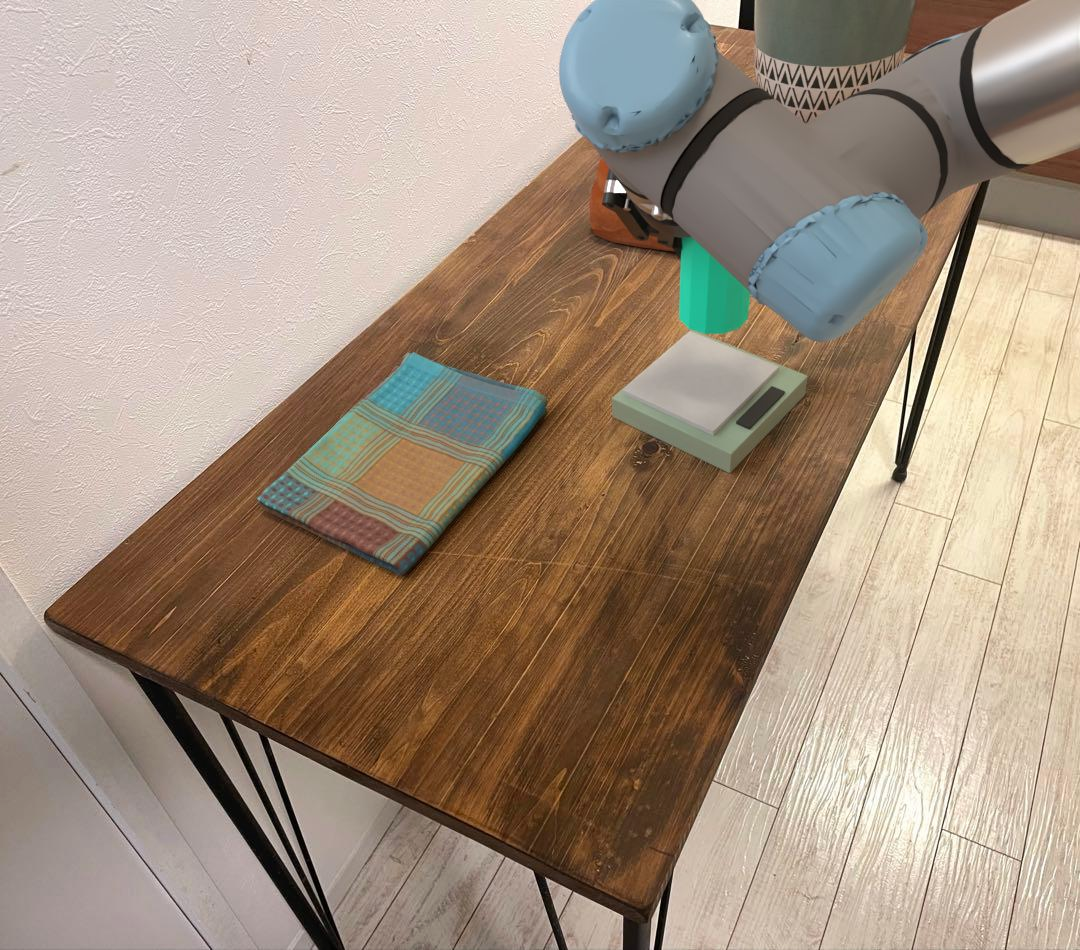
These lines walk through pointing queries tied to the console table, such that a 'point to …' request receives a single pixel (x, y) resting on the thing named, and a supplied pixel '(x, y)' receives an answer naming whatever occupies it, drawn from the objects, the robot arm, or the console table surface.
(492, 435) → the dish towel
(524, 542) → the console table surface
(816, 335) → the robot arm
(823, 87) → the planter
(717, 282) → the candle
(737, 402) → the scale
